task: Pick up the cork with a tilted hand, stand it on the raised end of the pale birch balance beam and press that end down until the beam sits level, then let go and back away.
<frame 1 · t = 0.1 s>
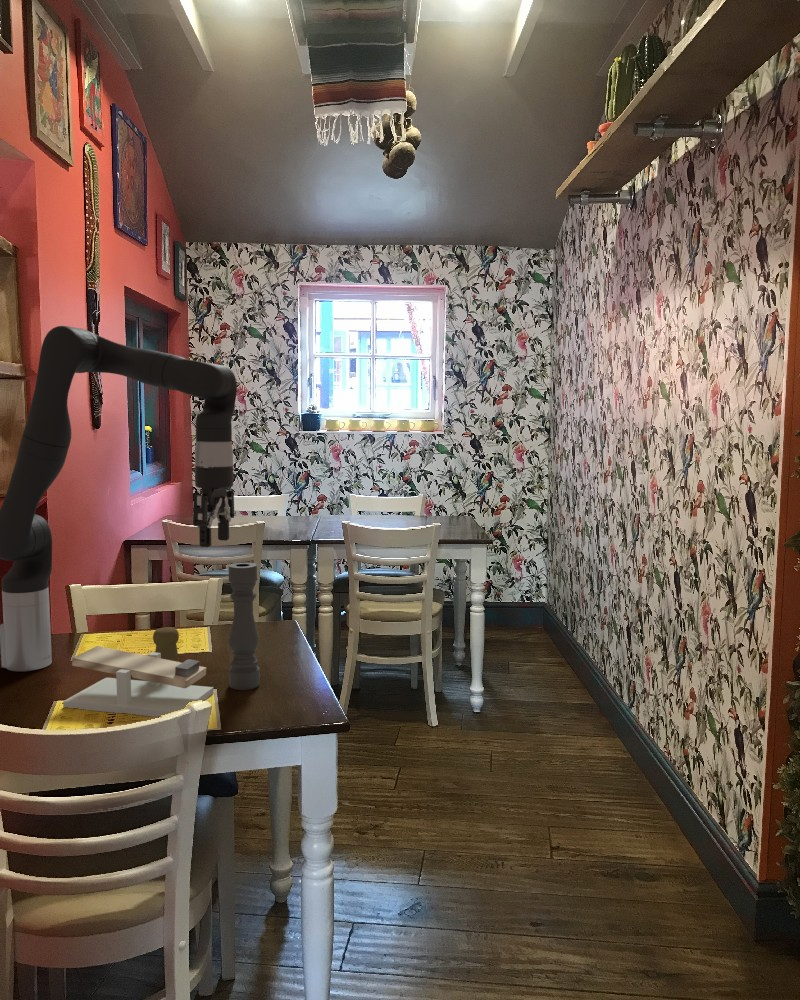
hand: (214, 543, 162), 29 cm above the table, tool pointing down, fingers open, 8 cm apart
beam stand: (140, 700, 155), on the table
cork: (167, 680, 167), on the table
candle holder: (244, 685, 164), on the table
beam: (139, 664, 154), point 7 cm above the table, hinge at 6.0°
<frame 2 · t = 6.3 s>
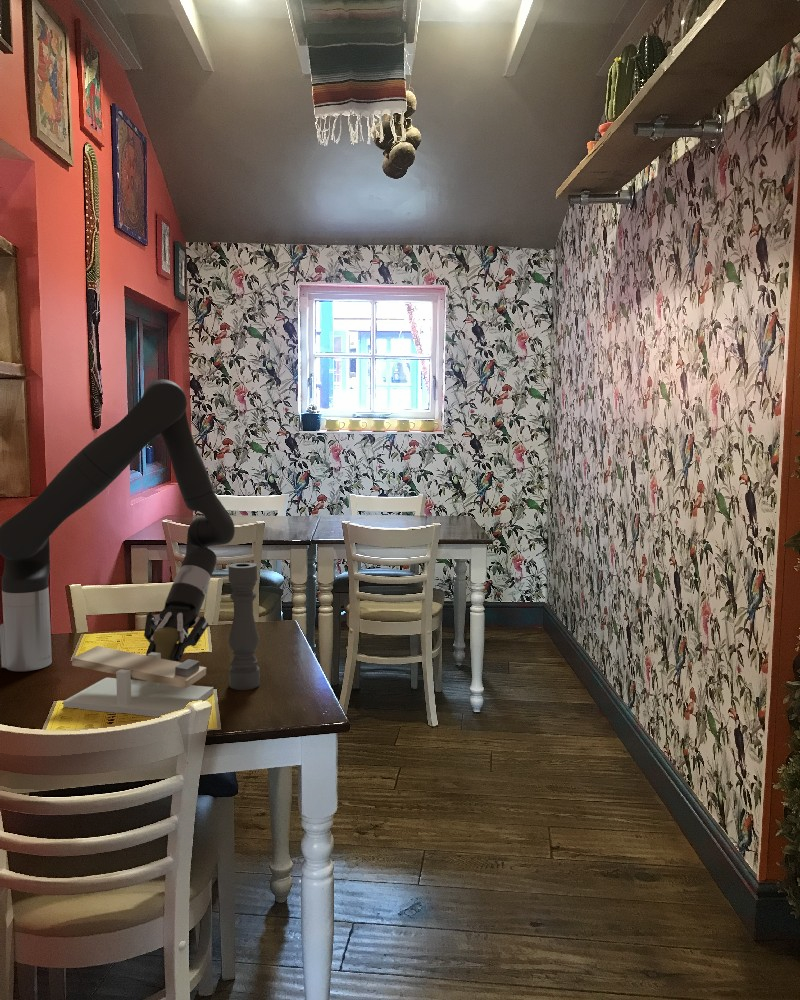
hand: (162, 660, 164), 5 cm above the table, tool tilted 45°, fingers closed on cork, 4 cm apart
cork: (167, 680, 167), on the table, touching gripper
everything else where it was.
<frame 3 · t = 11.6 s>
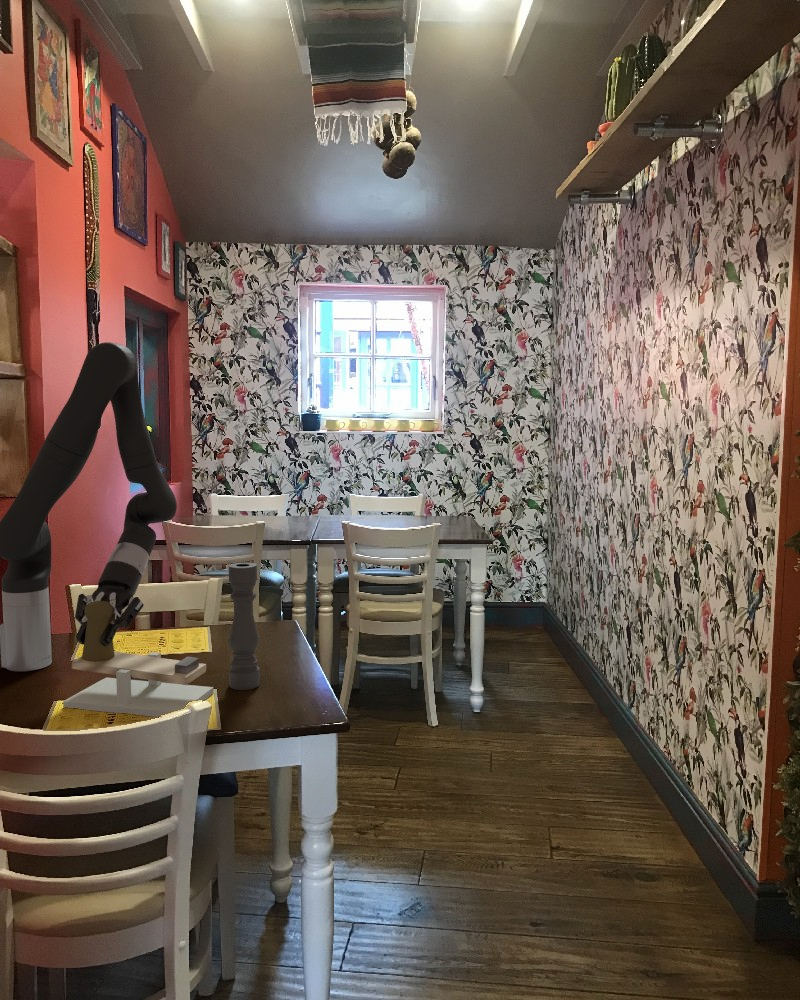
hand: (92, 643, 154), 11 cm above the table, tool tilted 45°, fingers open, 4 cm apart
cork: (98, 657, 156), point 8 cm above the table, touching beam, gripper
beam: (139, 664, 154), point 7 cm above the table, hinge at 2.9°, touching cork
everything else where it was.
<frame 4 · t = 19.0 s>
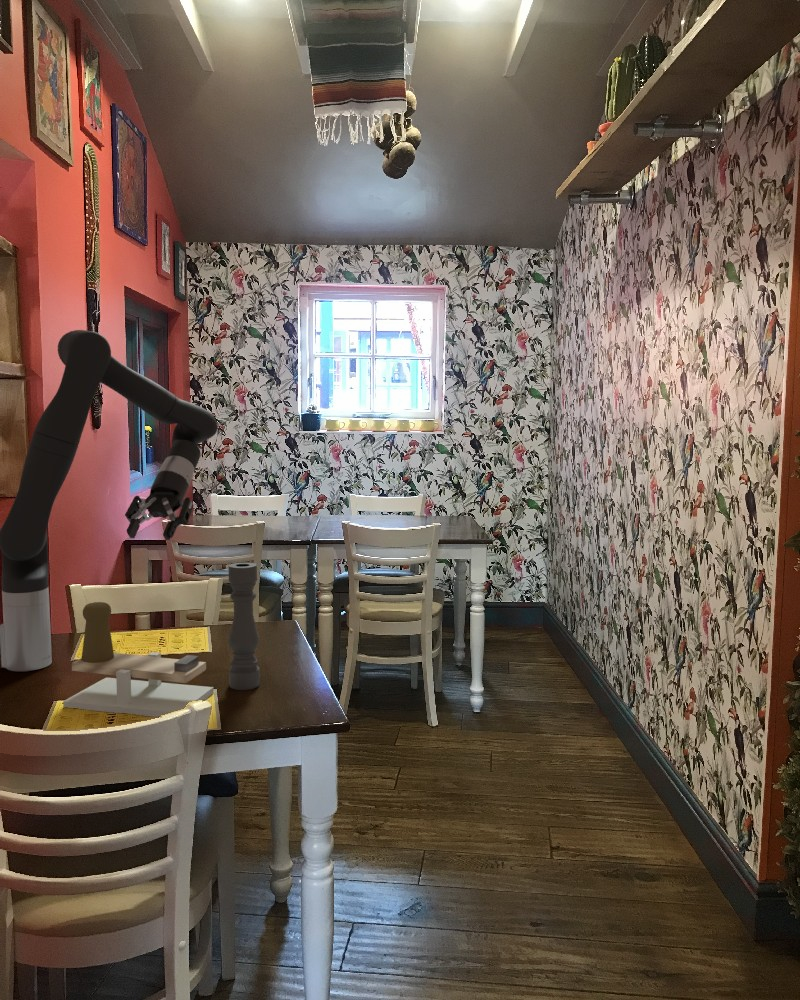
hand: (148, 537, 173), 29 cm above the table, tool tilted 45°, fingers open, 8 cm apart
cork: (97, 658, 156), point 7 cm above the table, touching beam
beam: (139, 664, 154), point 7 cm above the table, hinge at 1.1°, touching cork
everything else where it was.
at the end: beam at +1° (first picture: +6°); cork inside the target area on the beam (0.4 cm from its centre), point 1.5 cm above the beam's base; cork tilted 1° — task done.
